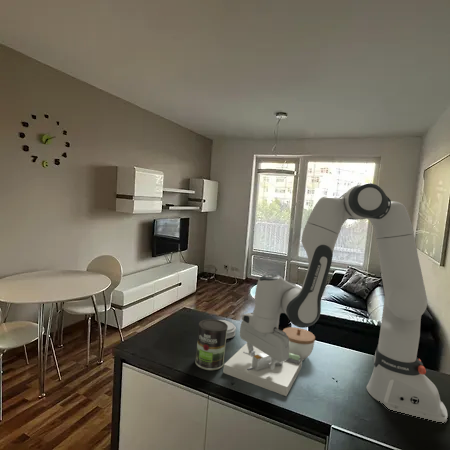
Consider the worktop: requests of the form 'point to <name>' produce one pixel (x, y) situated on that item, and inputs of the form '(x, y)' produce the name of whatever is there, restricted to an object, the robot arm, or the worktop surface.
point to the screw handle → (262, 361)
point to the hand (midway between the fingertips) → (260, 361)
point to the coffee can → (211, 344)
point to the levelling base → (264, 371)
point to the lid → (229, 329)
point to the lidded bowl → (300, 341)
